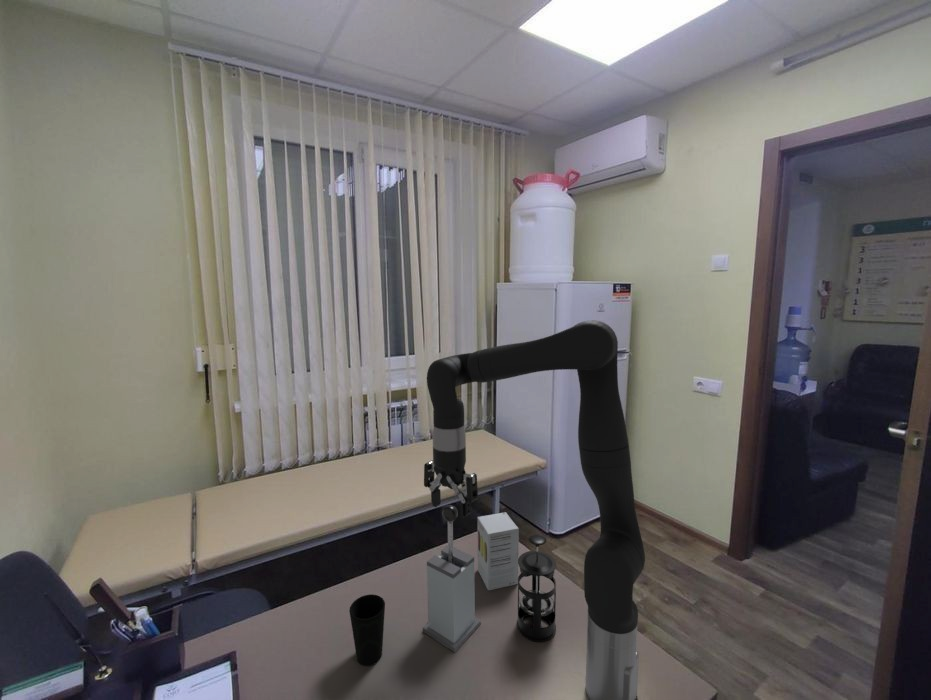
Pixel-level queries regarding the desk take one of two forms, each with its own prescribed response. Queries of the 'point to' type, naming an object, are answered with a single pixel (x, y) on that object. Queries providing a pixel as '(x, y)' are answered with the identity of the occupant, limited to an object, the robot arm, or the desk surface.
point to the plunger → (450, 531)
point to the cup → (368, 628)
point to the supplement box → (498, 550)
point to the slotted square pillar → (451, 599)
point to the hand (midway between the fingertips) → (450, 510)
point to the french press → (536, 593)
